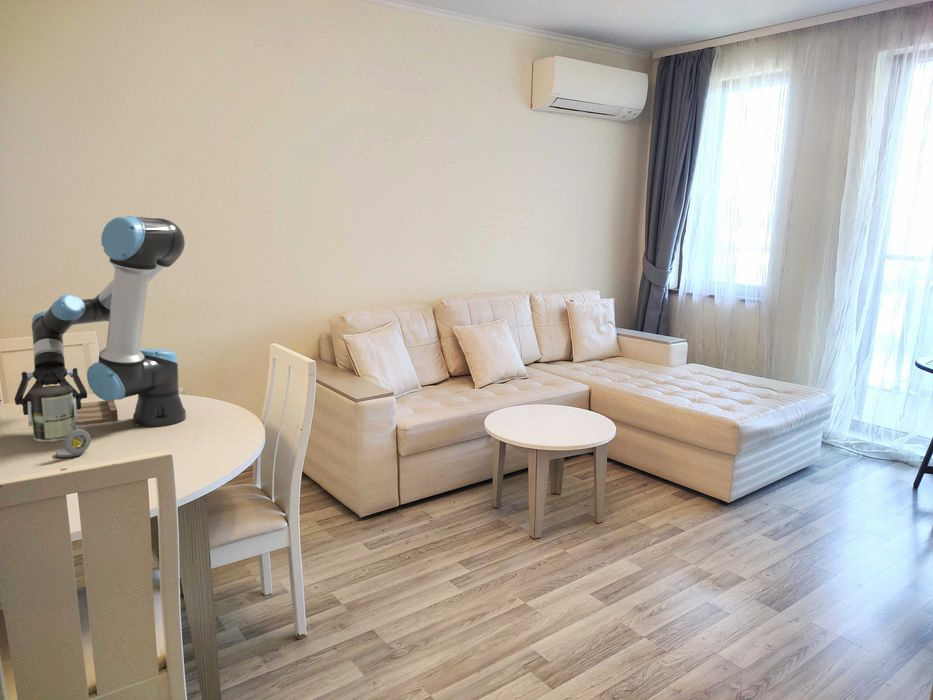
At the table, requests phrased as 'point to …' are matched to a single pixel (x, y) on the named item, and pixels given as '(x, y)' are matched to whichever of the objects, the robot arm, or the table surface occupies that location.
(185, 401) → the table surface
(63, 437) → the coffee can
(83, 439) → the pocket watch
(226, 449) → the table surface
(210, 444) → the table surface
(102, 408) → the cradle
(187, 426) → the table surface
